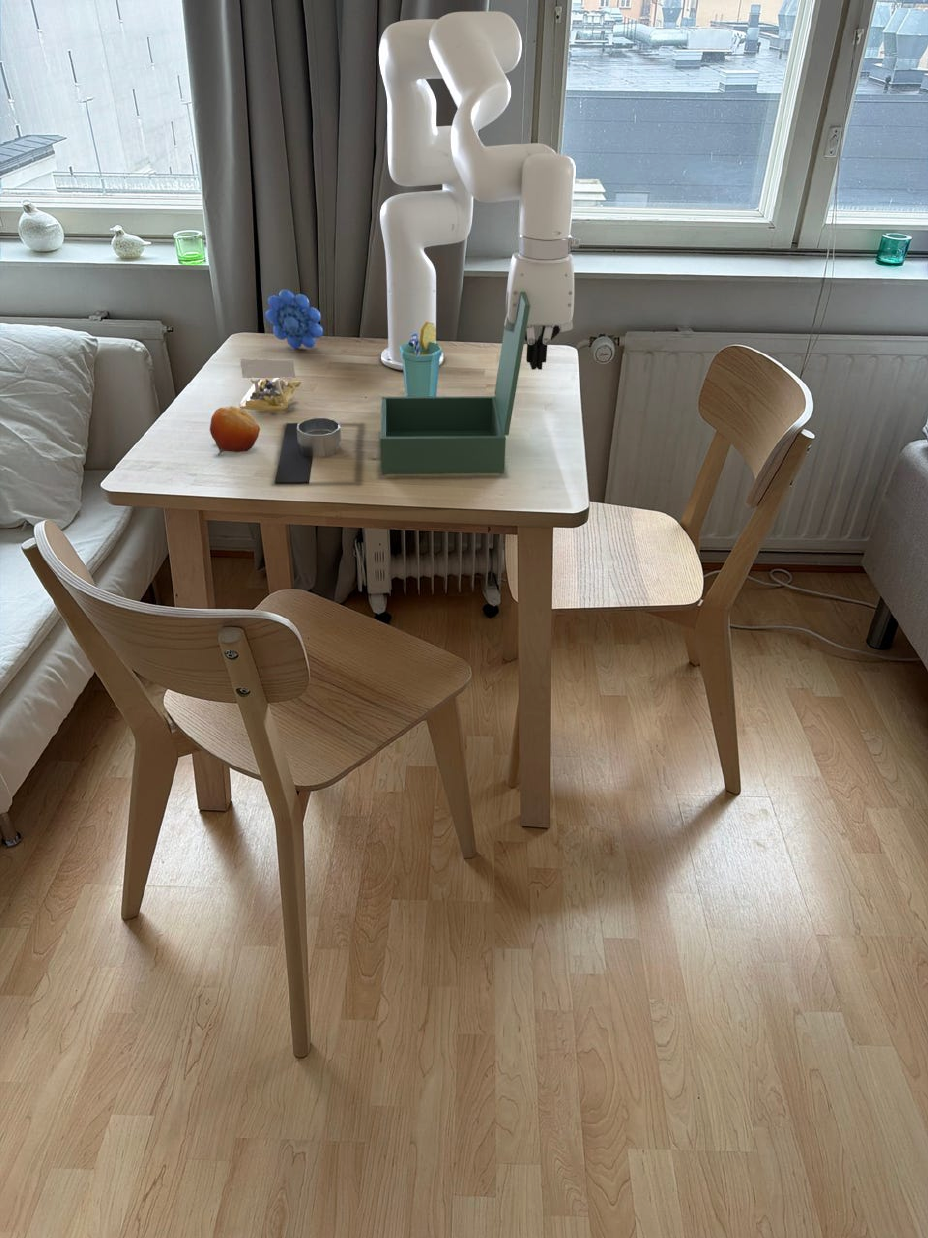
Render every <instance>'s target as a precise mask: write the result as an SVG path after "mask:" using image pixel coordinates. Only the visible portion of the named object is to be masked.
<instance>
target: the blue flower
mask: <svg viewBox="0 0 928 1238" xmlns="http://www.w3.org/2000/svg"><path fill="white" fill-rule="evenodd" d="M278 295H279V296H277V295H274V294H272V295H271V296H269V297H268V299H267V304H268V307H269V309H268V310H266V312H265V319H266V321H267V322H268V323H269V324H271V325H273V327H272V332H273V335H274V336H275V337H276V338H277V339H279V340H282V341H283V340H285V339H286V341H287V344H288V345H289V347H290V348H292V349H299V348H301V347H302V345H303V346H304V347H306V348H307V349H312V348H313V347H315V346H316V339H318V338H321V337H322V336H323V335H324V331H323V327H322V325H320V324H319V322H320V321H321V320H322V317H321V312H320V311H319V310H318V309H317V308H316V307H314V306H313V307H312V306H310V300H309V298H308V297H307V296H306V295H304V294H302V293H298V294H296V295H294V293H293V292H292V291H291V290H289V289H281V290H280V292H279V293H278Z"/></svg>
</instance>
